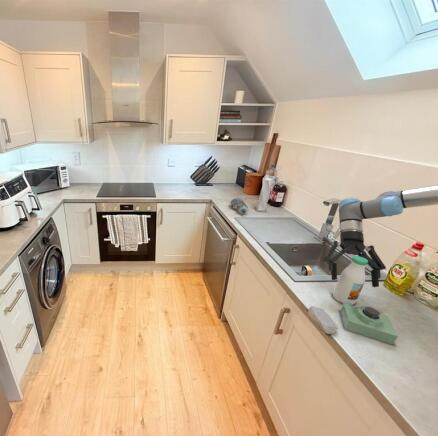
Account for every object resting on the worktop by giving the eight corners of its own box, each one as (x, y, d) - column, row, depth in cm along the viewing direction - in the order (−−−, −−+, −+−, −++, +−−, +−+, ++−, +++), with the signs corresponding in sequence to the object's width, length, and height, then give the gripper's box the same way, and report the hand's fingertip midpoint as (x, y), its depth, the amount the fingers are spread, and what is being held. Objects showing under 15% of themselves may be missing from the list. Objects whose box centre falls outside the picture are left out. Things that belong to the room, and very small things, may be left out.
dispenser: (383, 323, 87) (389, 311, 85) (392, 344, 79) (400, 331, 77) (340, 310, 93) (345, 299, 91) (345, 329, 85) (350, 316, 83)
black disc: (375, 313, 85) (378, 308, 84) (379, 321, 82) (381, 316, 81) (361, 309, 87) (363, 305, 86) (364, 316, 83) (366, 312, 83)
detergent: (228, 204, 204) (233, 214, 181) (230, 196, 201) (235, 206, 178) (244, 206, 203) (251, 217, 180) (246, 198, 200) (253, 208, 177)
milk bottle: (336, 303, 97) (353, 262, 89) (329, 290, 104) (344, 252, 96) (358, 307, 95) (378, 266, 87) (350, 294, 102) (367, 255, 94)
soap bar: (329, 338, 85) (342, 332, 82) (313, 335, 85) (326, 328, 81) (317, 312, 93) (328, 305, 89) (303, 309, 92) (313, 302, 88)
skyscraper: (255, 207, 198) (261, 174, 187) (265, 208, 196) (273, 175, 185) (256, 211, 191) (263, 177, 179) (267, 212, 188) (274, 177, 177)
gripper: (381, 240, 100) (387, 290, 93) (314, 231, 107) (314, 278, 100) (394, 234, 93) (401, 288, 86) (321, 225, 101) (322, 275, 94)
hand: (354, 283), depth 93 cm, fingers open, 13 cm apart
